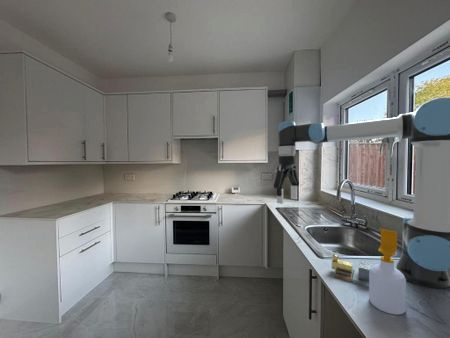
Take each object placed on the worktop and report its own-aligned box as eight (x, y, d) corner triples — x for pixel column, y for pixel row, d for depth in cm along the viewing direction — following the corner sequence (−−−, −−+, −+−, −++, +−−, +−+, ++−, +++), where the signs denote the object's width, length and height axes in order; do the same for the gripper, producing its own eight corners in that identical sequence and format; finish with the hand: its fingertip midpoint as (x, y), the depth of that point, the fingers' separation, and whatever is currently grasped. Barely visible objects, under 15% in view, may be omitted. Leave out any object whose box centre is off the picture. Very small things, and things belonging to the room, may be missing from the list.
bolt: (352, 270, 84) (352, 257, 84) (351, 273, 81) (351, 260, 81) (332, 265, 88) (333, 253, 88) (331, 268, 86) (331, 256, 85)
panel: (376, 277, 82) (376, 274, 82) (376, 289, 74) (376, 285, 74) (338, 267, 89) (338, 264, 89) (334, 277, 82) (334, 274, 82)
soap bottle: (366, 305, 66) (367, 228, 65) (372, 292, 73) (373, 222, 72) (403, 320, 60) (404, 235, 59) (406, 304, 66) (408, 228, 65)
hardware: (376, 275, 81) (376, 264, 80) (376, 284, 75) (376, 271, 75) (337, 266, 88) (337, 255, 88) (335, 272, 83) (335, 261, 83)
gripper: (291, 156, 109) (291, 196, 110) (265, 155, 91) (265, 204, 92) (305, 155, 104) (306, 198, 105) (281, 155, 86) (281, 206, 86)
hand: (287, 201), depth 98 cm, fingers open, 13 cm apart
